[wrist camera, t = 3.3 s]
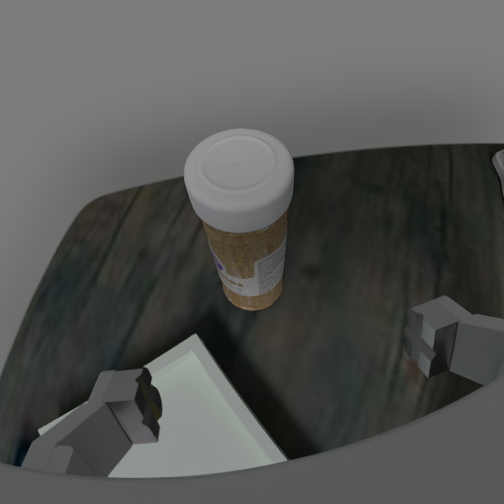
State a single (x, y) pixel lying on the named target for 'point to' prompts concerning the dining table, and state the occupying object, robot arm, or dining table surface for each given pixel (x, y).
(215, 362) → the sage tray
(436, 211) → the dining table surface
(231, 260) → the sprinkles bottle
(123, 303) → the dining table surface
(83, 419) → the robot arm
